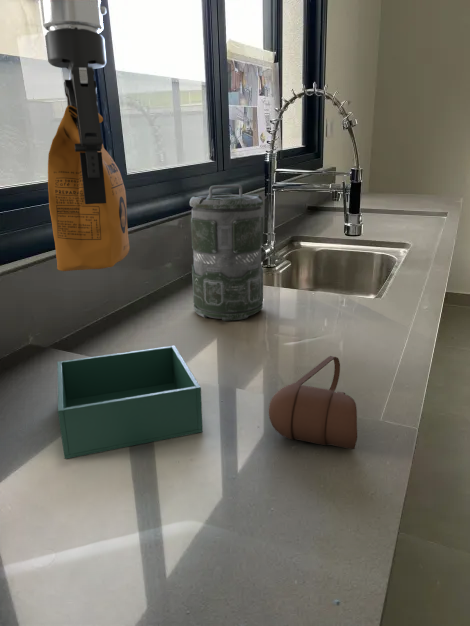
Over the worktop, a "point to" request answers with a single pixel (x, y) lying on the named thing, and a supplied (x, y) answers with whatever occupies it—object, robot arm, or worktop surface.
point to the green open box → (126, 400)
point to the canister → (227, 254)
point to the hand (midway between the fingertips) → (91, 199)
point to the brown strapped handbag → (315, 412)
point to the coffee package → (84, 206)
